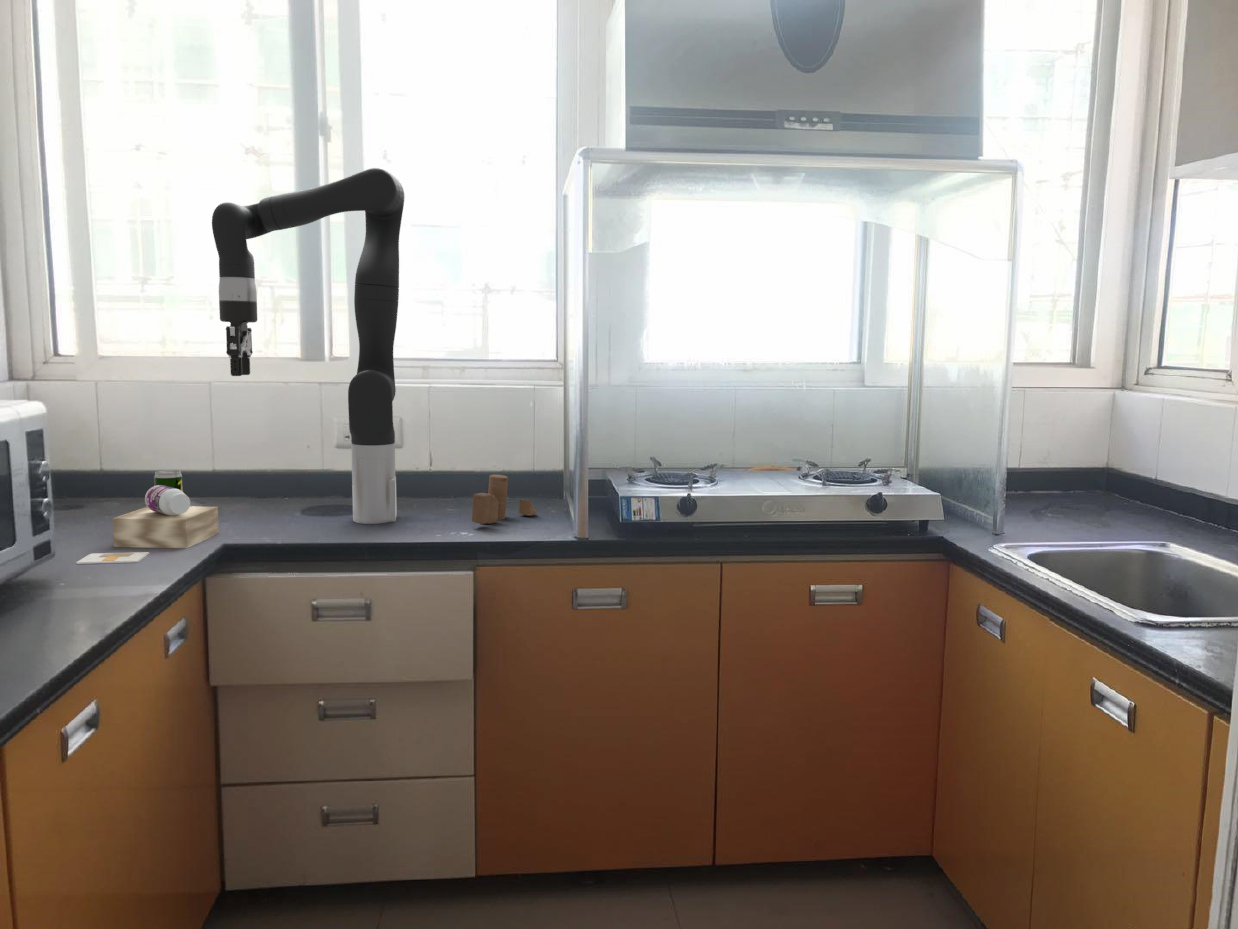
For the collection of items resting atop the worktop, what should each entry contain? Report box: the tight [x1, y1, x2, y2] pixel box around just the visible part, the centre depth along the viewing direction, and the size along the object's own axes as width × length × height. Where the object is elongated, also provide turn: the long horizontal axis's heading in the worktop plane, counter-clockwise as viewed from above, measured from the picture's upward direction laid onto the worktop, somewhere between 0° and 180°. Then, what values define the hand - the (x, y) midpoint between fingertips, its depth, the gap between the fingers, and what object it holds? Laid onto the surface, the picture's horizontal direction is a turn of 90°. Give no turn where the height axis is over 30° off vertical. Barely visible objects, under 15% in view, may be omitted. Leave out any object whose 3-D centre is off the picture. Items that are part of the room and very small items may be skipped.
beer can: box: [153, 469, 184, 492], centre depth 194 cm, size 5×5×12 cm
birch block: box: [112, 505, 220, 549], centre depth 183 cm, size 14×14×6 cm
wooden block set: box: [471, 474, 538, 525], centre depth 204 cm, size 18×9×10 cm, turn 151°
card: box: [75, 551, 150, 565], centre depth 166 cm, size 10×7×1 cm
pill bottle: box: [144, 485, 191, 516], centre depth 180 cm, size 5×5×10 cm
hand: (240, 375), depth 199 cm, fingers open, 8 cm apart
